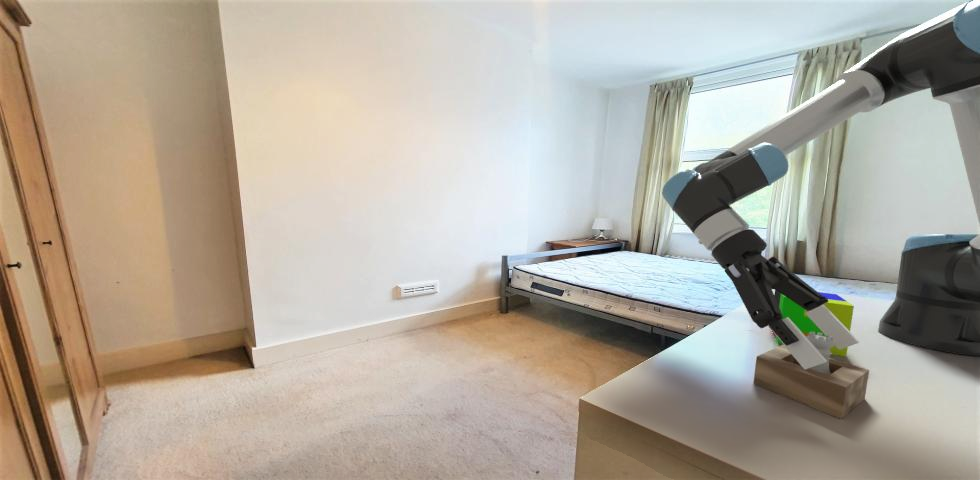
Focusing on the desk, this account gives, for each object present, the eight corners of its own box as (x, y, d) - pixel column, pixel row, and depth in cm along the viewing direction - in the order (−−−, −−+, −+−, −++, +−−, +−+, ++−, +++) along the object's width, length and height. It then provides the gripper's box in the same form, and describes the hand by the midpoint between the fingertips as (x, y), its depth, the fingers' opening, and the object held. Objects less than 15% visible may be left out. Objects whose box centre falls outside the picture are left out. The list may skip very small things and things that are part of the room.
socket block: (780, 369, 58) (784, 344, 58) (864, 398, 50) (869, 369, 49) (753, 383, 54) (756, 356, 53) (841, 419, 45) (846, 387, 44)
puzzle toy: (829, 339, 73) (836, 294, 71) (846, 356, 64) (853, 305, 63) (770, 329, 78) (775, 286, 77) (778, 344, 70) (784, 296, 68)
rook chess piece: (843, 395, 49) (851, 342, 48) (809, 392, 49) (816, 340, 48) (817, 379, 53) (824, 330, 52) (786, 376, 54) (792, 328, 53)
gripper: (745, 249, 69) (836, 348, 58) (672, 257, 57) (770, 385, 45) (780, 225, 64) (888, 329, 53) (709, 228, 51) (830, 364, 40)
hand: (834, 355), depth 49 cm, fingers open, 13 cm apart
